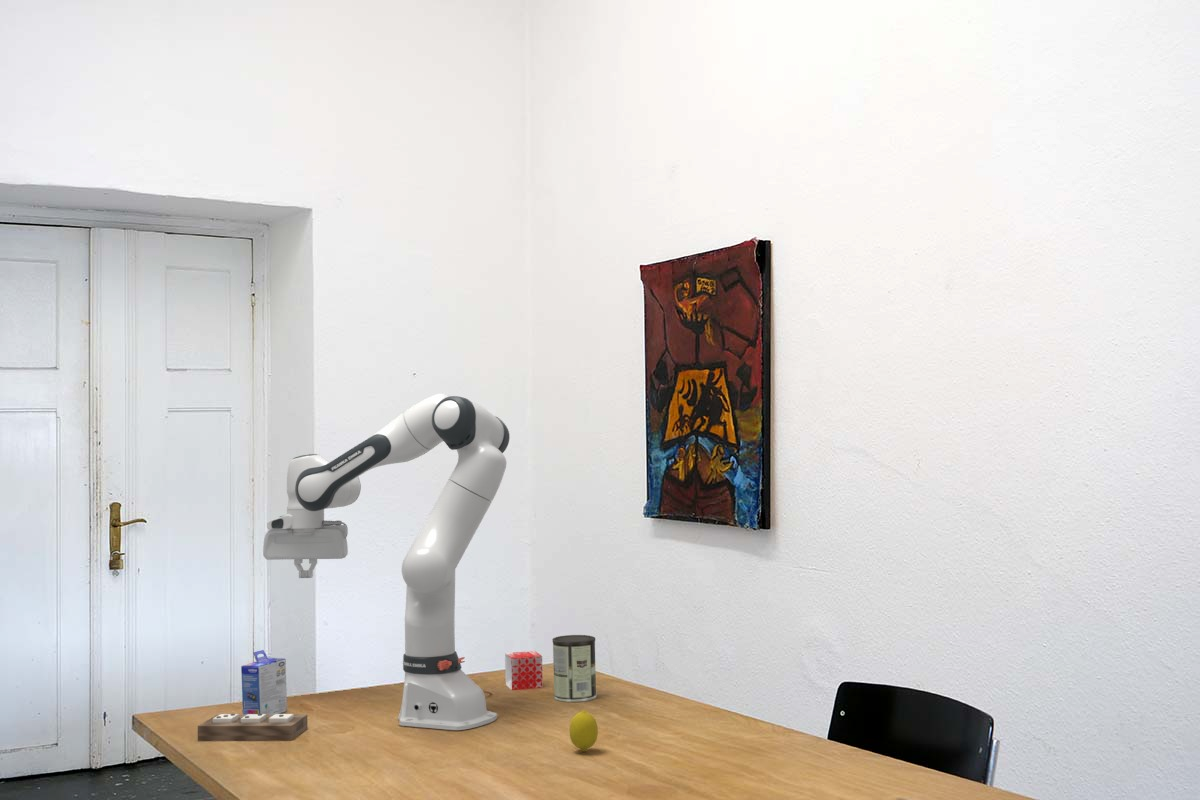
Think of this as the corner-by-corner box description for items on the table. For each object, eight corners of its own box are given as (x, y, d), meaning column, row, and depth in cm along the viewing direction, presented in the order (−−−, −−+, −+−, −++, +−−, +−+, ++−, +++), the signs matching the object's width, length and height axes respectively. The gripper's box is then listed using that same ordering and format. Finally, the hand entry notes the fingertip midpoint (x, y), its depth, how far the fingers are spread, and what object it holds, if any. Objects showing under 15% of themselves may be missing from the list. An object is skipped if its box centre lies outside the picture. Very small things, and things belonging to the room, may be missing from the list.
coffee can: (573, 691, 274) (572, 633, 274) (605, 696, 267) (604, 637, 268) (544, 698, 266) (543, 639, 267) (576, 704, 259) (575, 643, 260)
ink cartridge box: (268, 709, 260) (268, 647, 260) (288, 711, 258) (287, 648, 258) (240, 719, 250) (240, 654, 251) (260, 721, 248) (260, 655, 249)
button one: (293, 725, 238) (293, 713, 238) (287, 730, 234) (287, 717, 234) (275, 725, 238) (275, 713, 239) (268, 730, 235) (268, 717, 235)
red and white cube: (542, 688, 278) (542, 656, 279) (511, 690, 276) (511, 658, 277) (535, 682, 286) (535, 650, 286) (505, 684, 284) (505, 652, 284)
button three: (238, 725, 239) (238, 713, 239) (231, 730, 235) (231, 717, 235) (220, 725, 239) (220, 713, 239) (212, 730, 235) (212, 717, 235)
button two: (266, 725, 239) (266, 713, 239) (259, 730, 235) (259, 717, 235) (247, 725, 239) (247, 713, 239) (240, 730, 235) (240, 717, 235)
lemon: (601, 749, 220) (601, 707, 220) (592, 756, 215) (591, 714, 215) (575, 747, 222) (574, 706, 222) (565, 754, 216) (565, 712, 217)
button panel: (307, 728, 241) (307, 714, 241) (292, 740, 231) (292, 725, 231) (216, 728, 242) (216, 714, 242) (197, 740, 232) (197, 726, 232)
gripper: (351, 519, 276) (351, 575, 275) (269, 520, 277) (269, 576, 276) (343, 521, 269) (344, 578, 269) (260, 522, 270) (260, 579, 270)
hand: (305, 577), depth 272 cm, fingers closed
